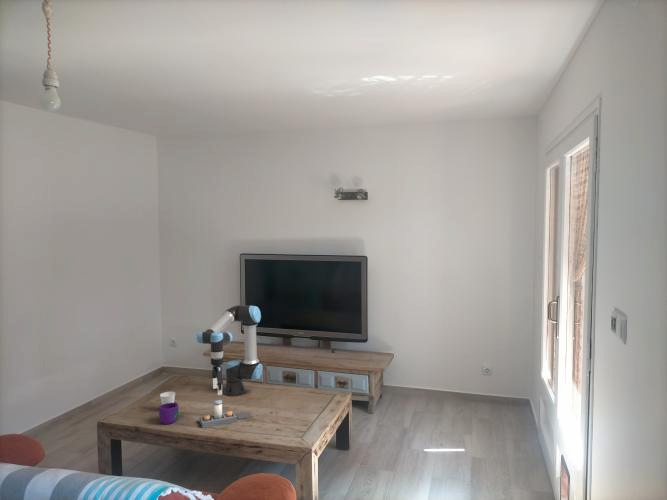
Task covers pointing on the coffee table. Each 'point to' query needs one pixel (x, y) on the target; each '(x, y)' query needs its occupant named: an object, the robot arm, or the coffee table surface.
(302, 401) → the coffee table surface
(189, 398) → the coffee table surface
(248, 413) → the mat
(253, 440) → the coffee table surface
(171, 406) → the mug
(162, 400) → the cup
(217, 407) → the cylinder
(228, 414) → the orange oval ball
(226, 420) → the tray
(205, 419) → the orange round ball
